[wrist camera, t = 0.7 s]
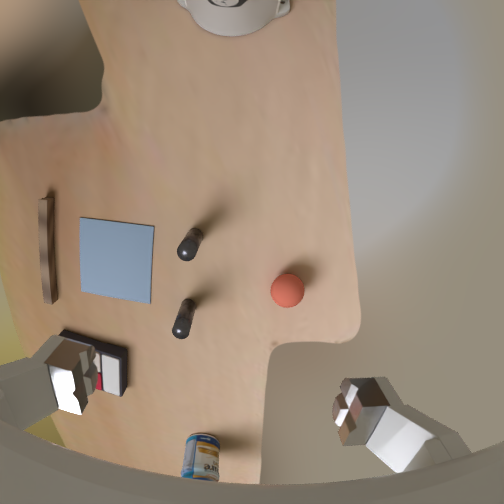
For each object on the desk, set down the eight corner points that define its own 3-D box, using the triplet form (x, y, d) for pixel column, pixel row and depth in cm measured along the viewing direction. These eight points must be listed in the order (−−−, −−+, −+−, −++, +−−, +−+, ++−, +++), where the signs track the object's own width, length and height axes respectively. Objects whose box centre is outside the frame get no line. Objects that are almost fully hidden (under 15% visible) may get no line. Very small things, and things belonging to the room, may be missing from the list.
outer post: (181, 297, 54) (172, 323, 45) (196, 300, 54) (189, 325, 45) (181, 311, 54) (171, 337, 46) (195, 313, 55) (188, 340, 46)
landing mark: (80, 217, 49) (80, 217, 49) (154, 226, 50) (153, 226, 50) (81, 290, 53) (81, 291, 53) (150, 303, 54) (150, 303, 54)
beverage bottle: (180, 433, 64) (170, 501, 45) (214, 430, 64) (211, 500, 45) (192, 453, 66) (185, 517, 47) (224, 450, 66) (223, 516, 47)
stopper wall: (45, 197, 47) (38, 199, 45) (54, 198, 48) (47, 200, 45) (50, 297, 53) (44, 302, 50) (57, 299, 53) (52, 304, 51)
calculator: (55, 337, 52) (120, 360, 53) (64, 327, 56) (127, 348, 57) (60, 377, 55) (121, 399, 56) (68, 366, 59) (127, 387, 60)
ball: (272, 267, 53) (275, 279, 48) (303, 271, 53) (310, 283, 48) (266, 297, 54) (269, 311, 49) (297, 300, 55) (303, 315, 50)
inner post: (188, 227, 50) (177, 241, 42) (203, 229, 50) (196, 243, 42) (186, 242, 51) (176, 259, 42) (202, 244, 51) (194, 262, 43)
